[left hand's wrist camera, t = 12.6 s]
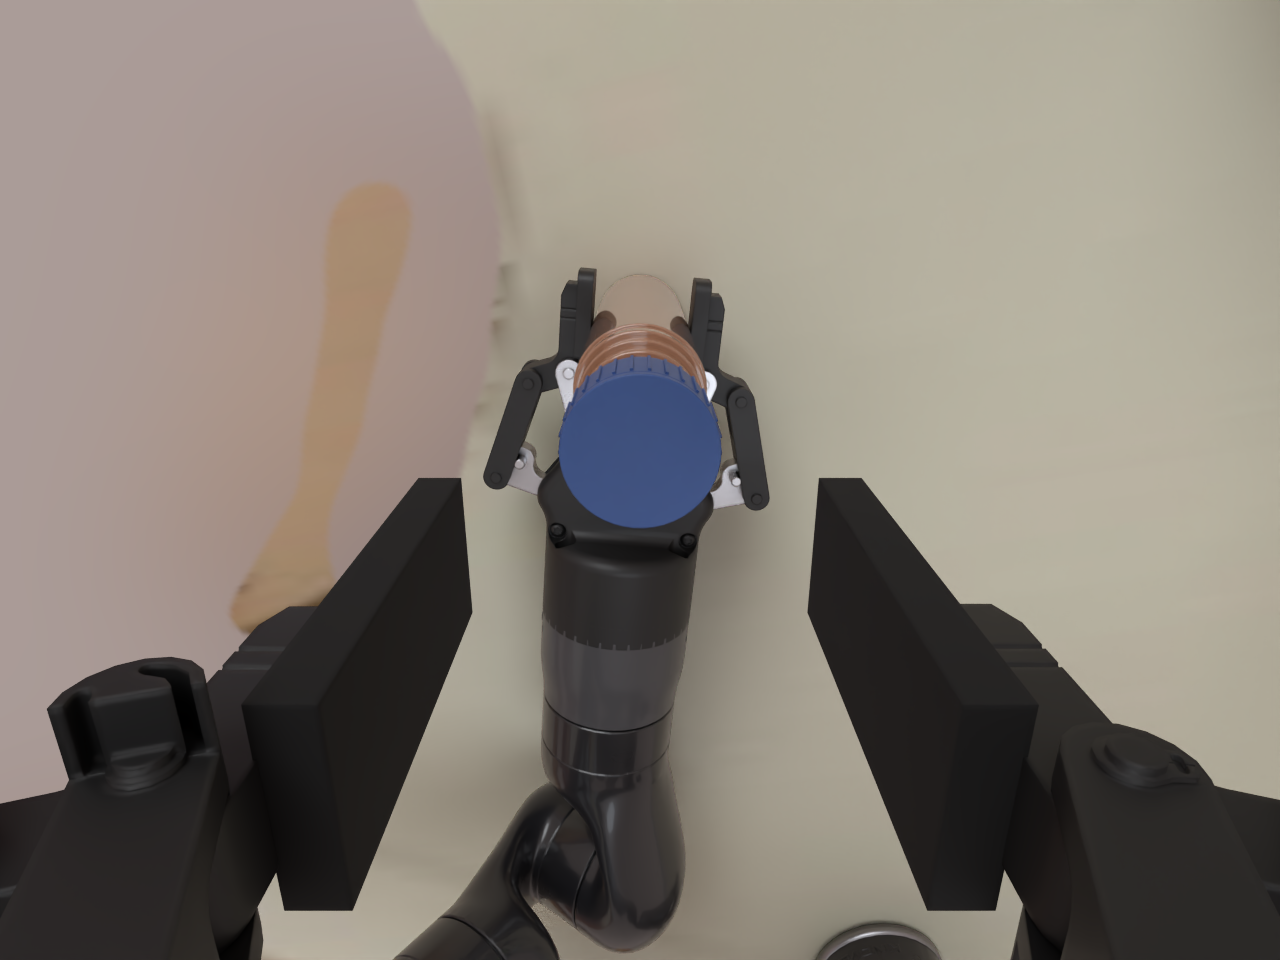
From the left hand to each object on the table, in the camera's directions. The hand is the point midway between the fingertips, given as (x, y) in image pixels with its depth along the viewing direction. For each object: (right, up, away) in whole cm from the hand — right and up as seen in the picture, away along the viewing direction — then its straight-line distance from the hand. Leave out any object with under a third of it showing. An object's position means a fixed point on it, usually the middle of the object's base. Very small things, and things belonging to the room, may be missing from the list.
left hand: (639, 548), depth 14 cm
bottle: (0, +10, +27) cm, 28 cm away
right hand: (0, +10, +20) cm, 22 cm away
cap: (0, +2, +5) cm, 6 cm away
